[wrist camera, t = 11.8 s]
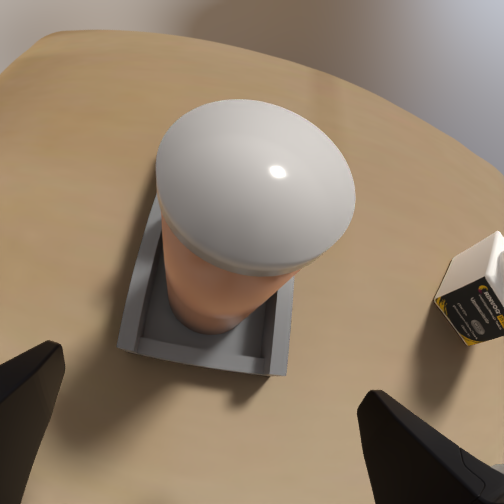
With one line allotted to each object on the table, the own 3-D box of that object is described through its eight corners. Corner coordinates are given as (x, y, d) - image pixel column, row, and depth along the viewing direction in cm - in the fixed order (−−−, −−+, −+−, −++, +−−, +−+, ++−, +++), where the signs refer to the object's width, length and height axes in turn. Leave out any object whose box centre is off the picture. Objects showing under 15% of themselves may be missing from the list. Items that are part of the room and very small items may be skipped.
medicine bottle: (431, 301, 25) (532, 251, 14) (452, 256, 28) (533, 204, 17) (466, 348, 24) (563, 316, 13) (483, 300, 27) (563, 262, 16)
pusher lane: (270, 376, 19) (292, 375, 15) (125, 351, 17) (112, 345, 14) (287, 167, 26) (304, 138, 23) (182, 143, 25) (185, 109, 21)
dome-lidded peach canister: (210, 354, 18) (273, 314, 7) (148, 289, 19) (114, 153, 7) (270, 294, 21) (382, 185, 9) (210, 236, 21) (255, 81, 10)
